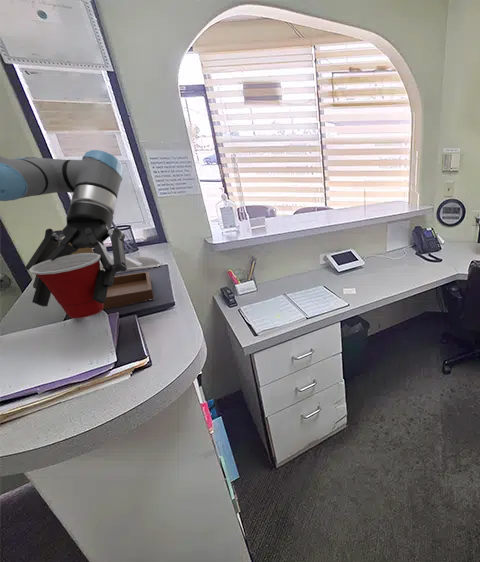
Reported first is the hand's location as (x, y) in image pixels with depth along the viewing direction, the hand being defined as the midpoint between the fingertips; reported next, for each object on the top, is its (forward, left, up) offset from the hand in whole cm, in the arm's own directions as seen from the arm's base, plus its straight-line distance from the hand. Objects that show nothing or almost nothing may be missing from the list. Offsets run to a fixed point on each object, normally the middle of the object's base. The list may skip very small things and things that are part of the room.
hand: (69, 302), depth 63 cm
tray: (-12, +27, -11) cm, 32 cm away
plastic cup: (-1, +3, -4) cm, 5 cm away
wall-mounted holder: (-25, +51, -11) cm, 58 cm away
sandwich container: (-29, +38, -11) cm, 49 cm away
